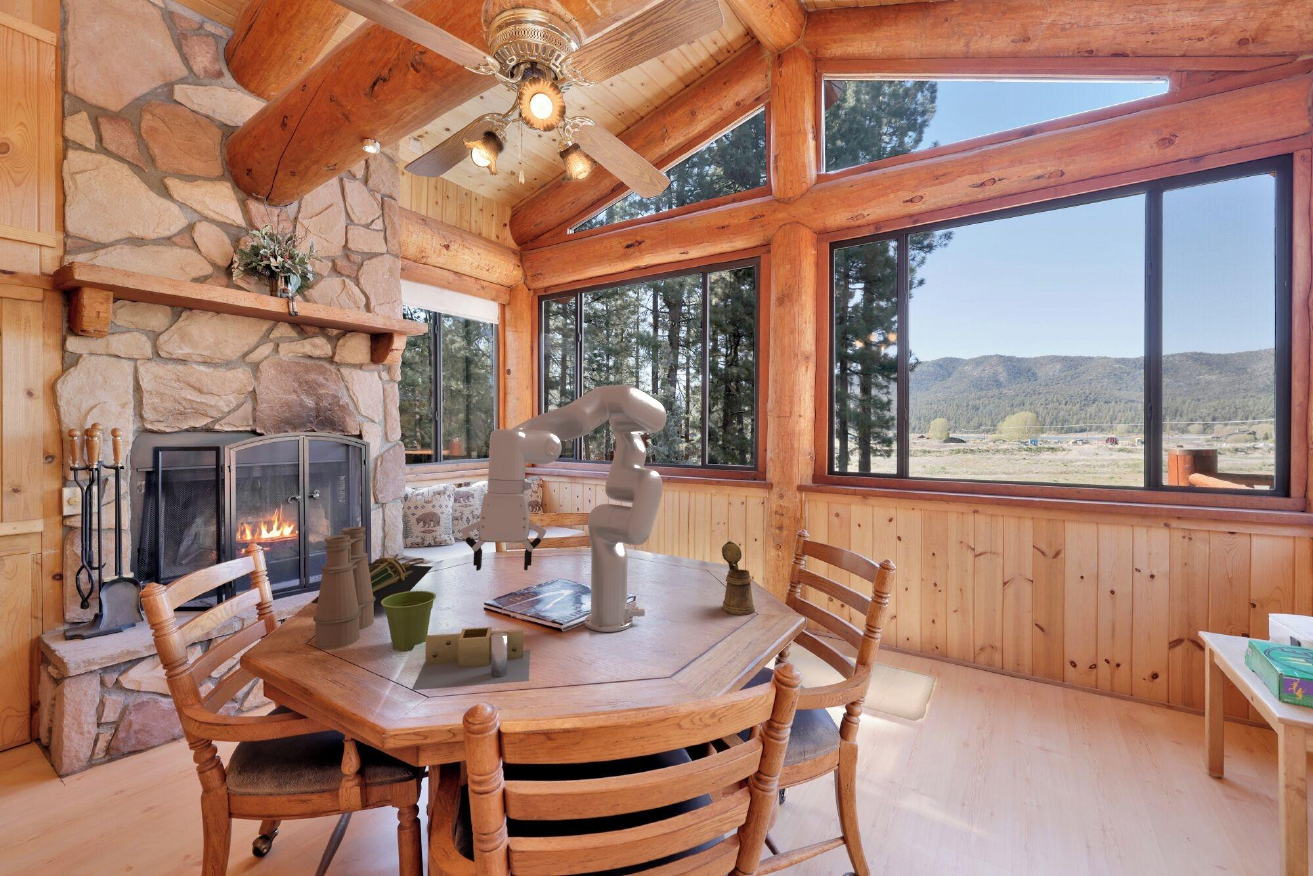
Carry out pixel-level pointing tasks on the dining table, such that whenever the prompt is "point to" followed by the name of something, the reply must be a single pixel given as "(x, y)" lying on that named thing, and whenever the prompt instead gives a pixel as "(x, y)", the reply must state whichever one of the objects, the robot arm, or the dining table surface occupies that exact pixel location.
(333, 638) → the binoculars
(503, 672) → the pin
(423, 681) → the board
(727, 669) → the dining table surface
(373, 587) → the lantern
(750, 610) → the wooden mug
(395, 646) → the plant pot
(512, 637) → the hinge
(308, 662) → the dining table surface
